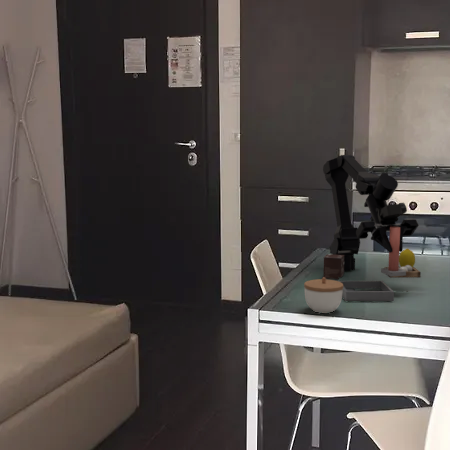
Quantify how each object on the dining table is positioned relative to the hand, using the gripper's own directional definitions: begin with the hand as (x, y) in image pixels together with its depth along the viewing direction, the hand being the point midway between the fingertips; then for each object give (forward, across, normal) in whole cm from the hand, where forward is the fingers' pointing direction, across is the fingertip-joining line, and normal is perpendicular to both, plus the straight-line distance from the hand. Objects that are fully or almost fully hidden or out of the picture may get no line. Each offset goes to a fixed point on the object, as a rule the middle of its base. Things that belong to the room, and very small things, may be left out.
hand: (396, 251), depth 213 cm
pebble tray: (-5, +15, +25) cm, 29 cm away
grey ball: (-5, +15, +23) cm, 28 cm away
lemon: (-11, +21, +30) cm, 38 cm away
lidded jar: (+16, -28, +3) cm, 32 cm away
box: (-10, -7, +29) cm, 31 cm away
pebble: (-6, +17, +24) cm, 30 cm away
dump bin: (+8, -9, +11) cm, 16 cm away
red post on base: (+4, 0, +6) cm, 7 cm away
